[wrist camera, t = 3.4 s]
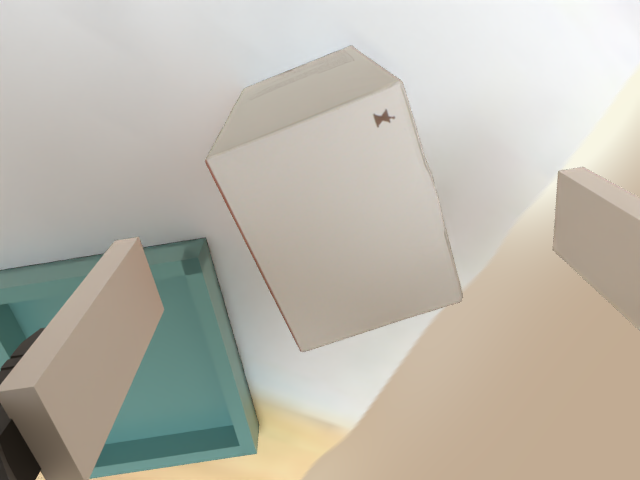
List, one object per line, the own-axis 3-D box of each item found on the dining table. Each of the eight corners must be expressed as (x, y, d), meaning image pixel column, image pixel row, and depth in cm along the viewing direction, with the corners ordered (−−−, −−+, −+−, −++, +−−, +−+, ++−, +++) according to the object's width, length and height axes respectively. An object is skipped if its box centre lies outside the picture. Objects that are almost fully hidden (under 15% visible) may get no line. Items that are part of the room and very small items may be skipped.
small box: (241, 87, 26) (197, 155, 14) (353, 42, 25) (407, 73, 13) (297, 217, 29) (300, 359, 17) (397, 180, 28) (470, 302, 17)
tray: (78, 452, 37) (64, 482, 34) (-18, 273, 30) (-44, 295, 27) (259, 424, 36) (256, 453, 34) (205, 237, 29) (198, 257, 27)
